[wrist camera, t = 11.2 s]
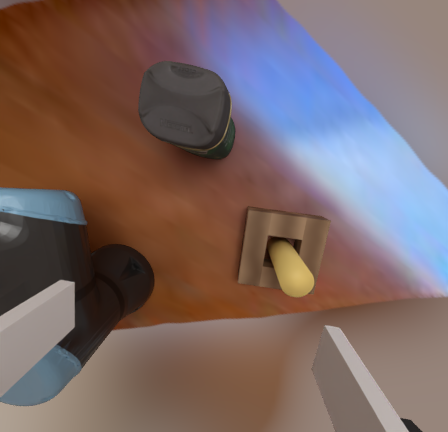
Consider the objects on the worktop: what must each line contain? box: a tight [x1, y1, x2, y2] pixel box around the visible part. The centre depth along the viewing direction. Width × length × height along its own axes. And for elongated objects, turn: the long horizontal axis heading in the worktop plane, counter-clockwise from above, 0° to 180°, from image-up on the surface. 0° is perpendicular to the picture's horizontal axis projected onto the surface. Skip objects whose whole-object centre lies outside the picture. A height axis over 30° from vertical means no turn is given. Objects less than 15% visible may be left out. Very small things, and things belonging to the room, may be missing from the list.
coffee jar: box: [138, 61, 235, 159], centre depth 29 cm, size 10×8×19 cm
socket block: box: [238, 207, 331, 294], centre depth 39 cm, size 14×14×4 cm
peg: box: [267, 236, 314, 297], centre depth 34 cm, size 4×4×14 cm
